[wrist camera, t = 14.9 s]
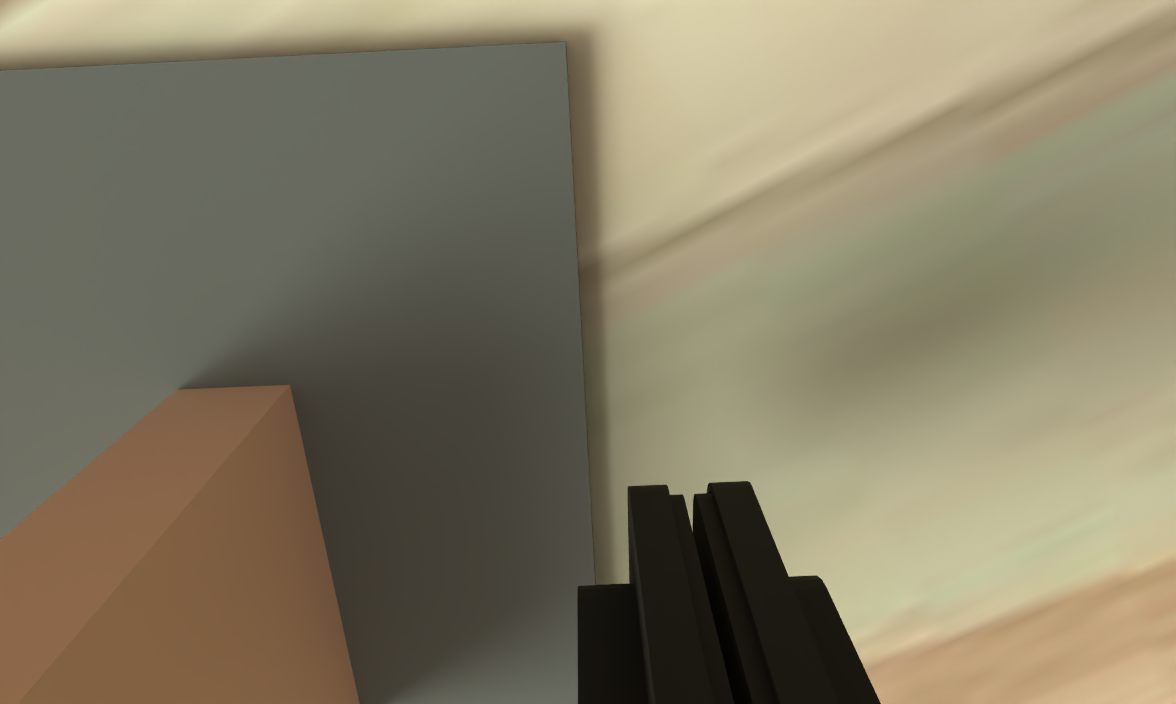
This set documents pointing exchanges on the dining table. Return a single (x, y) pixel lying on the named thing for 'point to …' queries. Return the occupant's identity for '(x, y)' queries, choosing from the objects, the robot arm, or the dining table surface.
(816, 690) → the robot arm
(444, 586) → the mat
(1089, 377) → the dining table surface
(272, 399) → the tile
